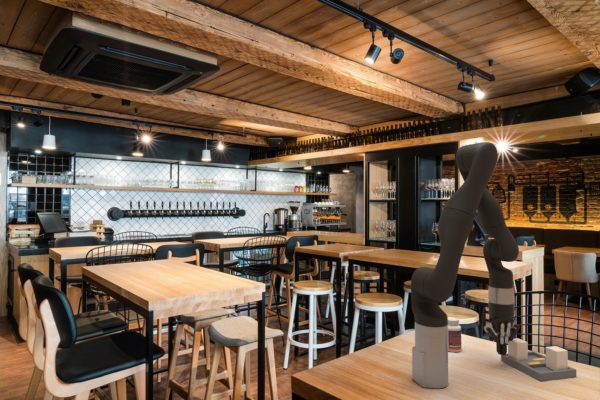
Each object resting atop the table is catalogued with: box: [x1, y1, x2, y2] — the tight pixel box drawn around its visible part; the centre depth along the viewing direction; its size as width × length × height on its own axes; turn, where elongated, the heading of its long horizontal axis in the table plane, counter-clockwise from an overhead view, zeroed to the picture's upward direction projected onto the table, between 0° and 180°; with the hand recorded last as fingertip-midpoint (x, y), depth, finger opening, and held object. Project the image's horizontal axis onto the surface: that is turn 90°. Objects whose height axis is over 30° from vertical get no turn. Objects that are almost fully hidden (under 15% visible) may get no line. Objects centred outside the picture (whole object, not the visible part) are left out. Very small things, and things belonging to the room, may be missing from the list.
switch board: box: [500, 350, 577, 382], centre depth 125 cm, size 13×16×2 cm
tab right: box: [545, 345, 569, 370], centre depth 121 cm, size 4×4×6 cm
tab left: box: [507, 337, 529, 361], centre depth 129 cm, size 4×4×6 cm
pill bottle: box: [447, 316, 463, 353], centre depth 142 cm, size 6×6×11 cm
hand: (501, 354), depth 127 cm, fingers closed
